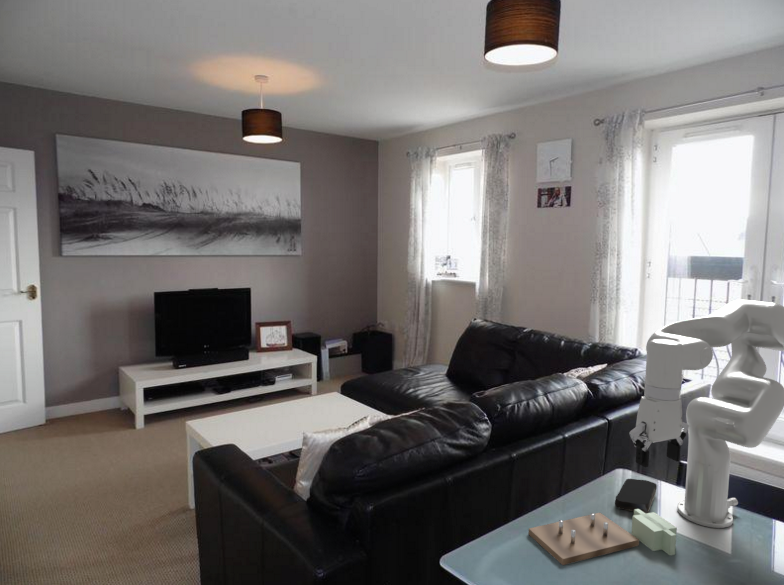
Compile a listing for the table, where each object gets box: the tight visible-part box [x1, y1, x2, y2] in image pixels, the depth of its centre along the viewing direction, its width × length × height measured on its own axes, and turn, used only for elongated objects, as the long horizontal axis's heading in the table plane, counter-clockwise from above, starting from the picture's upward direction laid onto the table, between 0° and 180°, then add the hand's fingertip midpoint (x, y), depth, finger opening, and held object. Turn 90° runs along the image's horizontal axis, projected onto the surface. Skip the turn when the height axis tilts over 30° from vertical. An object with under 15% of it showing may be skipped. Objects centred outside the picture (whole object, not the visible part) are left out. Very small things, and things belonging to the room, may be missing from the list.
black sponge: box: [614, 478, 657, 513], centre depth 145 cm, size 16×8×4 cm, turn 145°
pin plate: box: [527, 512, 640, 566], centre depth 127 cm, size 22×13×4 cm, turn 110°
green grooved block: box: [631, 509, 678, 556], centre depth 126 cm, size 12×6×5 cm, turn 16°
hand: (657, 462), depth 124 cm, fingers open, 9 cm apart
